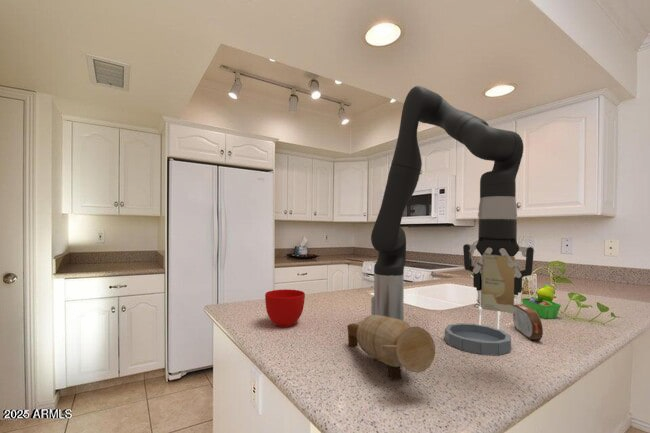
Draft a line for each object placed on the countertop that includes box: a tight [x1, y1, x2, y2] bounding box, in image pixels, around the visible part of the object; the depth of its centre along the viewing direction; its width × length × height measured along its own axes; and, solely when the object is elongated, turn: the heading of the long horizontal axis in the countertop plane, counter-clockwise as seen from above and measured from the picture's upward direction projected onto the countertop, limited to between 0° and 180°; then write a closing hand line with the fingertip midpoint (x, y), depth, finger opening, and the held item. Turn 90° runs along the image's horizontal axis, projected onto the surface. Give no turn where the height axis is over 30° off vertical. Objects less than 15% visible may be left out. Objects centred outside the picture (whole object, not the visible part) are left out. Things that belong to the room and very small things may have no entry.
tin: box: [512, 303, 544, 341], centre depth 94 cm, size 15×3×8 cm, turn 168°
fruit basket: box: [521, 284, 562, 319], centre depth 117 cm, size 11×9×11 cm
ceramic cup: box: [264, 288, 306, 328], centre depth 104 cm, size 13×17×10 cm
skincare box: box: [480, 254, 516, 314], centre depth 69 cm, size 6×4×12 cm
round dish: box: [444, 322, 512, 356], centre depth 86 cm, size 16×16×3 cm
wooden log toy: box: [347, 314, 436, 381], centre depth 71 cm, size 10×12×30 cm
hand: (496, 292), depth 69 cm, fingers closed on skincare box, 6 cm apart
